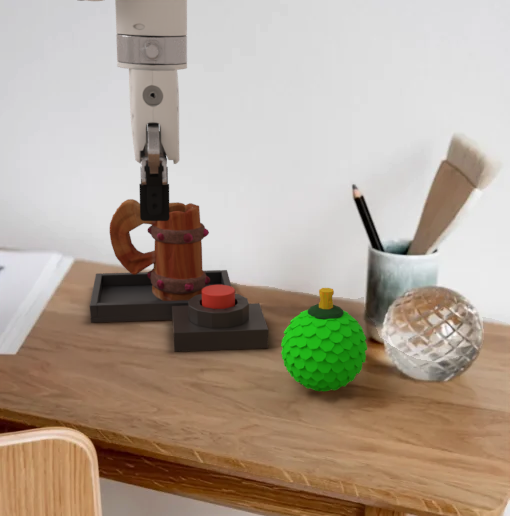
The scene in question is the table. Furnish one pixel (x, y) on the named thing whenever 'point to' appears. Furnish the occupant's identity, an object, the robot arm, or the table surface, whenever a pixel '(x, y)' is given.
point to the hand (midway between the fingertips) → (154, 209)
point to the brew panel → (219, 326)
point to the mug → (164, 249)
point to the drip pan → (135, 297)
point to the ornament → (324, 346)
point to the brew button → (218, 296)
